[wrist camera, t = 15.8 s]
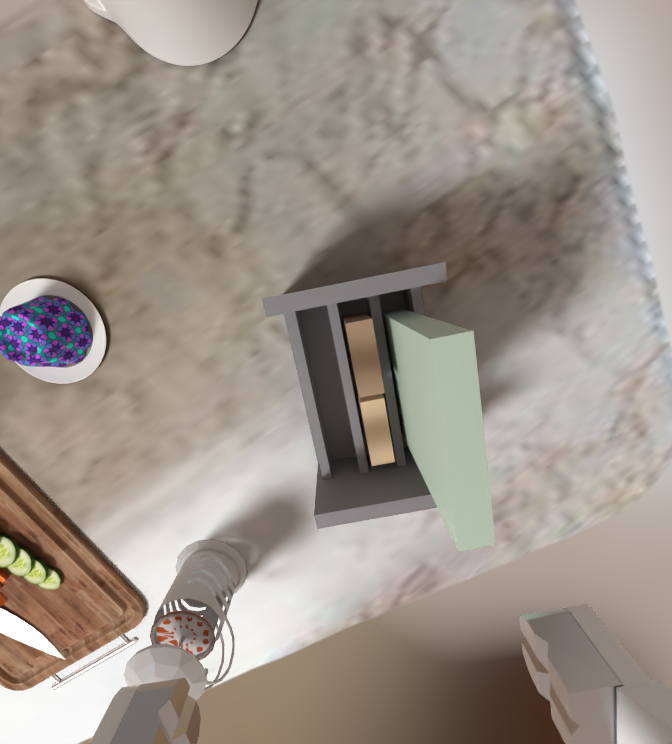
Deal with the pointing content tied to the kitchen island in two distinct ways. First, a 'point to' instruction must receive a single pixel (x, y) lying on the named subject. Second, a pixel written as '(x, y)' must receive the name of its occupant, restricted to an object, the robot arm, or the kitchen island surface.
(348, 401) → the rack
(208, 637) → the french press
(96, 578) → the chopping board
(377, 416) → the offcut oak
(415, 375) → the tall panel
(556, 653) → the robot arm
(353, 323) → the offcut walnut
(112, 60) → the kitchen island surface
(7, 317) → the pudding
